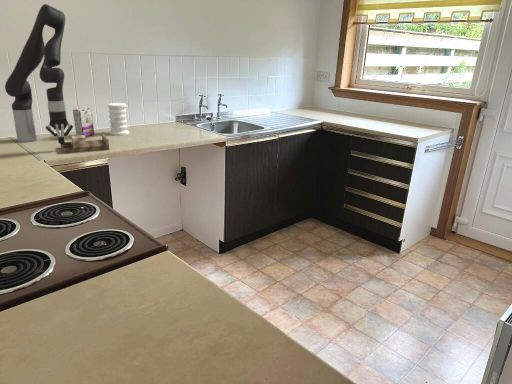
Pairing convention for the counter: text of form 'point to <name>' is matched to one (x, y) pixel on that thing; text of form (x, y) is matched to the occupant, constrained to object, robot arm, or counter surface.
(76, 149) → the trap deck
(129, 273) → the counter surface
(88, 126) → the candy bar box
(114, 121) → the decorative container
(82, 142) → the maple block
